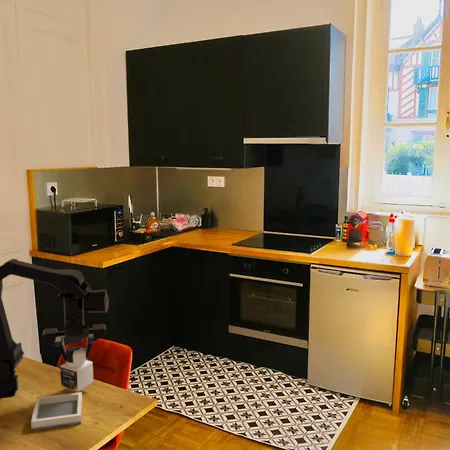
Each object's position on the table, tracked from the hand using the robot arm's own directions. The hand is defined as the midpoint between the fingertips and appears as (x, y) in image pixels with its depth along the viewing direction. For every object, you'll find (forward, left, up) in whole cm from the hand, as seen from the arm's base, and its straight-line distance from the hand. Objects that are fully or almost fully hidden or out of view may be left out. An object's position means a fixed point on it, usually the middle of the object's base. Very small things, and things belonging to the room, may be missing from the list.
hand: (76, 359), depth 151 cm
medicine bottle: (0, 0, -9) cm, 9 cm away
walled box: (-5, -12, -11) cm, 17 cm away
